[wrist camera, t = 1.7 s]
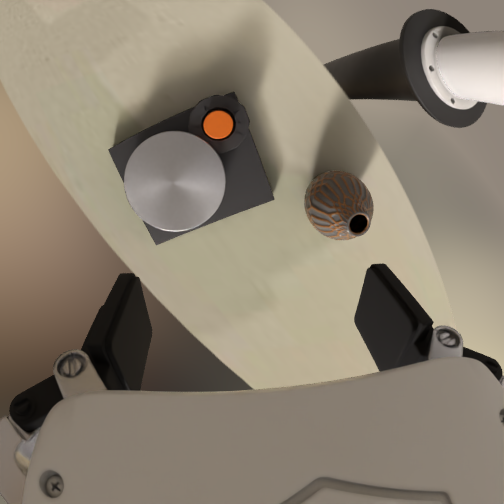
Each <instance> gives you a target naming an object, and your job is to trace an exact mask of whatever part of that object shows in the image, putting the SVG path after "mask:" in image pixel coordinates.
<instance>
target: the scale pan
mask: <svg viewBox="0 0 504 504" xmlns="http://www.w3.org/2000/svg"><path fill="white" fill-rule="evenodd" d="M225 185H226V177H225V170H224V166H223V163H222V161H221V159H220V157H219V155H218V153H217V152H216V150H215V149H214V148H213V147H212V146H211V145H210V144H209V143H208V142H207V141H205V140H204V139H202V138H201V137H199V136H197V135H195V134H192V133H189V132H184V131H166V132H162V133H159V134H156V135H154V136H151V137H150V138H148V139H146V140H145V141H144V142H142V143H141V144H140V145H139V146H138V147H137V148H136V149H135V151H134V152H133V153H132V155H131V157H130V158H129V160H128V163H127V165H126V169H125V175H124V187H125V193H126V196H127V199H128V201H129V204H130V205H131V207H132V209H133V210H134V211H135V213H136V214H137V215H138V216H139V217H140V218H141V219H142V220H144V221H145V222H146V223H148V224H150V225H151V226H154V227H156V228H159V229H162V230H166V231H184V230H189V229H192V228H195V227H197V226H199V225H201V224H202V223H204V222H205V221H207V220H208V219H209V218H210V217H211V216H212V215H213V214H214V213H215V212H216V210H217V209H218V207H219V205H220V204H221V202H222V199H223V196H224V192H225Z"/></svg>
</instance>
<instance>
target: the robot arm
mask: <svg viewBox="0 0 504 504" xmlns="http://www.w3.org/2000/svg"><path fill="white" fill-rule="evenodd" d="M421 59H422V65H423V69H424V72H425V75H426V78H427V80H428V82H429V84H430V86H431V88H432V89H433V91H434V92H435V93H436V95H437V96H438V97H439V98H440V99H441V100H442V101H443V102H444V103H446V104H447V105H449V106H451V107H453V108H457V109H469V108H471V107H473V106H474V105H475V104H476V103H477V102H478V101H481V102H487V103H494V104H498V105H504V31H486V32H475V33H465V34H461V33H459V32H458V31H457V30H455V29H453V28H450V27H446V26H438V27H434V28H432V29H430V30H429V31H428V32H427V33H426V34H425V36H424V38H423V40H422V45H421ZM354 321H355V325H356V327H357V329H358V330H359V332H360V334H361V336H362V338H363V340H364V342H365V344H366V346H367V348H368V349H369V351H370V353H371V355H372V357H373V359H374V361H375V363H376V365H377V367H378V369H379V371H380V372H376V373H372V374H367V375H362V376H357V377H351V378H346V379H340V380H334V381H328V382H321V383H314V384H307V385H299V386H290V387H281V388H270V389H258V390H245V391H244V390H243V391H222V392H155V391H140V388H141V383H142V378H143V373H144V369H145V364H146V359H147V355H148V350H149V346H150V342H151V337H152V327H151V323H150V319H149V315H148V312H147V308H146V303H145V300H144V296H143V291H142V287H141V282H140V278H139V277H135V274H134V273H127V274H126V273H123V274H120V275H119V276H118V278H117V280H116V282H115V284H114V286H113V288H112V290H111V292H110V294H109V296H108V298H107V300H106V302H105V304H104V305H103V306H101V308H100V309H99V312H98V314H97V315H96V318H95V320H94V322H93V324H92V326H91V328H90V330H89V333H88V335H87V337H86V339H85V342H84V344H83V346H82V349H81V350H69V351H66V352H64V353H63V354H61V355H60V356H59V357H58V358H57V359H56V361H55V363H54V366H53V371H54V375H52V376H51V377H49V378H47V379H45V380H43V381H42V382H40V383H38V384H36V385H35V386H33V387H31V388H29V389H27V390H26V391H24V392H22V393H21V394H19V395H17V396H16V397H15V398H14V399H13V401H12V402H11V405H10V410H9V411H10V415H9V416H8V417H6V416H3V418H1V419H0V494H1V496H2V497H3V498H4V499H5V501H6V502H7V504H504V376H503V375H502V369H501V366H500V365H499V364H498V362H497V361H496V360H495V359H492V358H490V357H487V356H485V355H483V354H480V353H478V352H475V351H473V350H470V349H468V348H465V347H463V339H462V337H461V335H460V334H459V333H458V332H457V331H456V330H455V329H453V328H451V327H449V326H438V327H436V328H435V329H433V327H432V324H433V321H432V319H431V318H430V317H429V315H428V314H427V313H426V312H425V310H424V309H423V308H422V307H421V305H420V304H419V303H418V302H417V301H416V299H415V298H414V297H413V296H412V295H411V293H410V292H409V291H408V290H407V289H406V287H405V286H404V285H403V284H402V283H401V282H400V280H399V279H398V278H397V277H396V276H395V275H394V273H393V272H392V271H391V270H390V269H389V268H388V267H387V265H385V264H372V265H371V266H370V268H368V269H367V271H366V275H365V279H364V284H363V287H362V291H361V295H360V299H359V303H358V306H357V310H356V313H355V317H354Z"/></svg>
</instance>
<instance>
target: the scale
mask: <svg viewBox="0 0 504 504" xmlns="http://www.w3.org/2000/svg"><path fill="white" fill-rule="evenodd" d="M213 111H224V112H226V113H228V114H229V115H230V116H231V118H232V120H233V128H232V131H231V132H230V134H229V135H228V136H226V137H224V138H221V139H215V138H212V137H210V136H209V135H207V133H206V132H205V130H204V125H203V124H204V120H205V118H206V116H207V115H208V114H209V113H211V112H213ZM249 122H250V121H249V118H248V115H247V113H246V110H245V108H244V106H243V105H241V104H240V103H239V102H238V100H237V97H236V95H235V92H232V93H229V94H226V95H224V96H221V95H214V96H211V97H209V98H206V99H204V100H201V101H200V102H199V103H198V104H197V105H196V107H193V108H191V109H188V110H186V111H184V112H182V113H179V114H177V115H175V116H173V117H170V118H168V119H166V120H164V121H162V122H160V123H158V124H156V125H153V126H151V127H149V128H147V129H145V130H143V131H141V132H140V133H138V134H136V135H134V136H132V137H130V138H128V139H126V140H124V141H123V142H121V143H119V144H117V145H115V146H114V147H112V148H110V149H109V152H110V155H111V157H112V159H113V161H114V163H115V165H116V168H117V170H118V172H119V174H120V176H121V178H122V180H123V182H124V175H125V169H126V165H127V163H128V160H129V158H130V157H131V155H132V153H133V152H134V151H135V149H136V148H137V147H138V146H139V145H140V144H141V143H142V142H144V141H145V140H146V139H148V138H150V137H151V136H154V135H156V134H159V133H162V132H166V131H184V132H189V133H192V134H195V135H197V136H199V137H201V138H202V139H204V140H205V141H207V142H208V143H209V144H210V145H211V146H212V147H213V148H214V149H215V150H216V152H217V153H218V155H219V157H220V159H221V161H222V163H223V166H224V170H225V177H226V185H225V192H224V196H223V199H222V202H221V204H220V205H219V207H218V209H217V210H216V212H215V213H214V214H213V215H212V216H211V217H210V218H209V219H208V220H207V221H205V222H204V223H202V224H201V225H199V226H197V227H195V228H192V229H189V230H184V231H166V230H162V229H159V228H156V227H154V226H151V225H150V224H148V223H146V222H145V221H144V220H143V222H144V224H145V225H146V227H147V229H148V231H149V233H150V235H151V237H152V238H153V240H154V242H155V244H156V245H158V244H160V243H163V242H165V241H168V240H170V239H173V238H175V237H178V236H180V235H183V234H185V233H188V232H190V231H193V230H195V229H198V228H200V227H203V226H205V225H208V224H210V223H213V222H216V221H218V220H221V219H223V218H226V217H229V216H231V215H234V214H237V213H239V212H242V211H245V210H247V209H250V208H253V207H256V206H258V205H261V204H264V203H267V202H269V201H272V200H274V196H273V194H272V191H271V188H270V185H269V182H268V180H267V177H266V174H265V171H264V168H263V166H262V163H261V160H260V157H259V155H258V152H257V149H256V147H255V144H254V141H253V139H252V136H251V133H250V131H249V128H248V127H249Z"/></svg>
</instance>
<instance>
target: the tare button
mask: <svg viewBox="0 0 504 504" xmlns="http://www.w3.org/2000/svg"><path fill="white" fill-rule="evenodd" d="M203 125H204V130H205V132H206V133H207V135H209V136H210V137H212V138H215V139H221V138H224V137H226V136H228V135H229V134H230V132H231V131H232V128H233V120H232V118H231V116H230V115H229V114H228V113H226V112H224V111H213V112H211V113H209V114H208V115H207V116H206V118H205V120H204V124H203Z"/></svg>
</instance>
